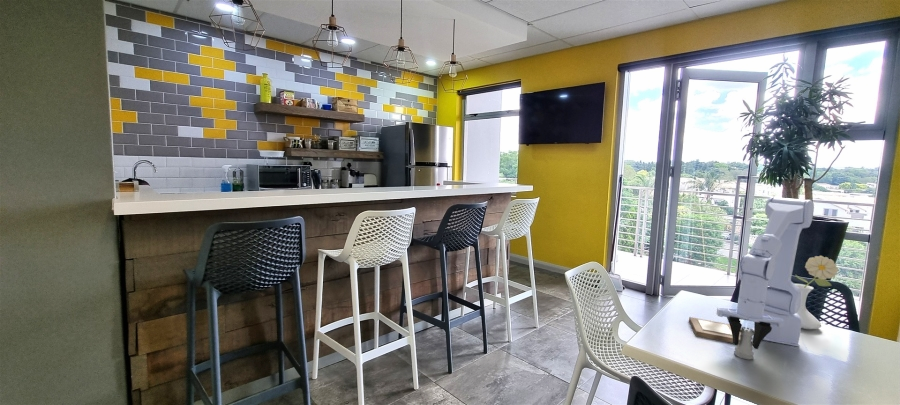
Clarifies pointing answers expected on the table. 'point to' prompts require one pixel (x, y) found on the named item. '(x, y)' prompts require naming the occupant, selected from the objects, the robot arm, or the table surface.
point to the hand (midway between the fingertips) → (744, 345)
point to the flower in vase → (819, 269)
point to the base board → (712, 330)
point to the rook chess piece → (745, 344)
